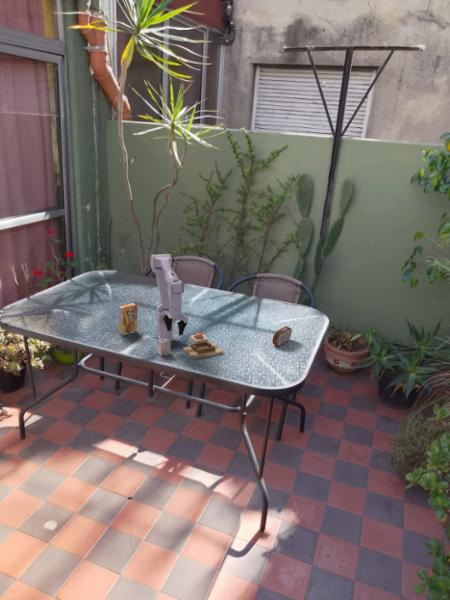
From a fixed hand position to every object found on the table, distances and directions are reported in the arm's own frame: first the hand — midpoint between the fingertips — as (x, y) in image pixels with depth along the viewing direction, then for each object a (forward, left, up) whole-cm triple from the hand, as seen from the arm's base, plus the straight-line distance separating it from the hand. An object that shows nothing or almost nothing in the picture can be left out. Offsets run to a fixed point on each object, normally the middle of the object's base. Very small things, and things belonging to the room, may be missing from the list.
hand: (175, 332), depth 217 cm
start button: (-3, +15, -8) cm, 17 cm away
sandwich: (+16, +54, -10) cm, 57 cm away
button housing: (-3, +15, -9) cm, 18 cm away
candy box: (-29, -13, -10) cm, 33 cm away
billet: (+1, -6, -10) cm, 11 cm away
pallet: (+7, +12, -10) cm, 17 cm away
